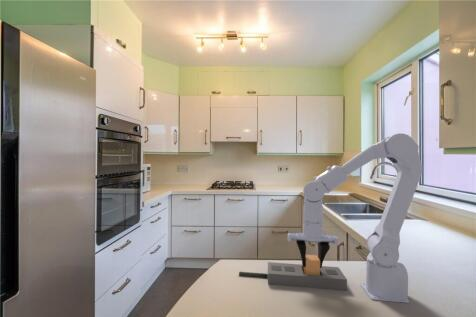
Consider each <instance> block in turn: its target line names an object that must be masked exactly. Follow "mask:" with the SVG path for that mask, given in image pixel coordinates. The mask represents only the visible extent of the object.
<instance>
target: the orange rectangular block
mask: <svg viewBox="0 0 476 317" xmlns="http://www.w3.org/2000/svg"><path fill="white" fill-rule="evenodd" d="M305 258H306V266H305V267H304V274H308V275H320V259H319V258H318V254H317V255H316V254H306V256H305Z"/></svg>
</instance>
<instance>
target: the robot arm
mask: <svg viewBox="0 0 476 317" xmlns="http://www.w3.org/2000/svg"><path fill="white" fill-rule="evenodd" d="M377 159H378V160H379V159H387V160H389V161H390V162H391V164H392V165H393V166H394V167H395V169H396V170H397V173H396V174H397V175H396V177H395V179H394V183H393V184H392V188H391V191H390V193H389V196H388V199H387V202H386V204H385V207H384V210H383V212H382V215H381V218H380V221H379V223H378V224H377V225H376V226H375V228H374V230H373V232H372V233H371V234H370V235H369V236H368V237H367V238H366V248H367V249H368V251H369V253H368V255H367V256H366V269H365V270H366V274H365V276H366V277H365V281H366V282H365V283H360V287H361V288H362V289H363V291H364V292H365V293H366V294H367V296H368V297H369V299H371V300H372V301H380V302H381V301H383V302H396V303H405V304H409V303H410V299H408V297H409V294H408V293H409V274H408V271H407V268H406V266H405V265H404V264H403V263H401V262H399V259H400V251H399V247H400V245H401V237H400V235H401V234H400V232H401V229H402V227H403V224H404V222H405V219H406V216H407V214H408V211H409V209H410V207H411V204H412V200H413V198H414V196H415V193H416V190H417V187H418V185H419V182H420V181H421V180H420V179H421V177H422V175H423V170H424V169H423V168H424V167H423V165H422V160H421V157H420V154H419V145H418V144H417V142H416V141H415V140H414V139H413V137H411V136H410V135H408V134H405V133H395V134H393V135H391V136H387V137H385V138H383V139H382V140H380V141H378V142H376V143H374V144H371V145H370V146H368V147H366V148H365V149H363V150H362V151H361V152H359V153H358V154H356V155H355V156H353V157H351V158H350V159H349V160H348V161H346V162H345V163H343V164H342V165H332V166H330V165H328V166H327V167H326V170H325V171H324V172H322V173H320V174H319V175H317V176H316V175H315V176H314V177H312V180H311V181H308V182H306V184H305V186H304V187H303V196H304V199H303V203H304V204H303V208H302V209H303V212H302V232H295V233H294V232H293V233H290V232H288V233H287V241H288V242H289V243H290V242H296V245H297V247H298V251H299V253H300V257H301V265H303V267H305V266H306V258H305V256H306V255H307V245H306V243H317V252H318V253H317V256H318V258H319V259H320V268H322V266H323V263H324V260H325V257H326V255H327V253H328V251H329V250H330V249H331V248H330V244H332V245H333V244H334V245H337V246H338V245H339V237H338V236H336V235H329V234H323V231H324V227H323V226H324V225H323V224H324V206H323V198H324V197H325V194H329V193H331V192H333V191H334V190H335V189H337V188H339V187H340V186H342V185H343V184H345V183H346V182H347V181H348V176H349V175H350V174H352V173H353V172H355V171H357V170H358V169H360V168H362V167H363V166H365V165H366V164H368V163H370V162H372V161H373V160H377Z"/></svg>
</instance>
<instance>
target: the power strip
mask: <svg viewBox="0 0 476 317" xmlns="http://www.w3.org/2000/svg"><path fill="white" fill-rule="evenodd" d="M238 275H239V276H243V277H244V276H245V277H246V276H247V277H256V278H257V277H258V278H267V284H268V285H278V286H289V287H290V286H291V287H300V288H301V287H303V288H315V289H326V290H327V289H328V290H337V291H338V290H339V291H347V290H348V279H347V278H346V276H345V275H344V273H343V271H342V270H341V268H340V267H339V266H328V265H327V266H326V265H325V266H324V265H322V268H320V275H308V274H304V267H303V265H302V264H299V263H284V262H273V261H272V262H271V261H268V262H267V273H263V272H262V273H259V272H248V271H239V272H238Z"/></svg>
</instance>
